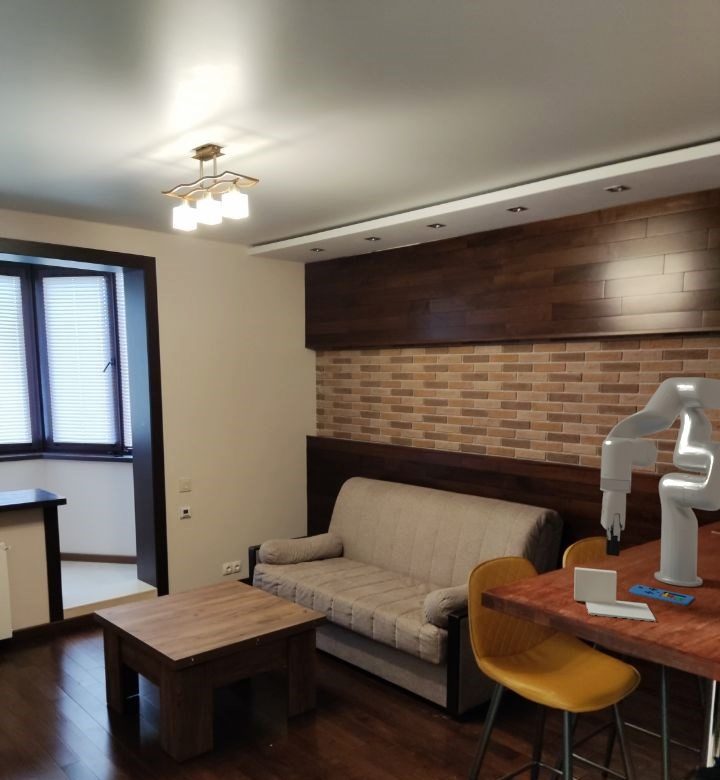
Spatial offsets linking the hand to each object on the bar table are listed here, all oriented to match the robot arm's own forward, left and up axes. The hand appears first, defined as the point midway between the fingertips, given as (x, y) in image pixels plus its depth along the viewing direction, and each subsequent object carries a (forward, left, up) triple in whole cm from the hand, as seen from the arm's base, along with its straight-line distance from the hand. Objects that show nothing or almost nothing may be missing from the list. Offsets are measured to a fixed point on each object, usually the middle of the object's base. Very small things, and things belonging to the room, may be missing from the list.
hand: (612, 554), depth 167 cm
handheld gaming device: (-7, +13, -12) cm, 20 cm away
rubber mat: (+9, 0, -12) cm, 15 cm away
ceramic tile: (+6, -5, -11) cm, 13 cm away
